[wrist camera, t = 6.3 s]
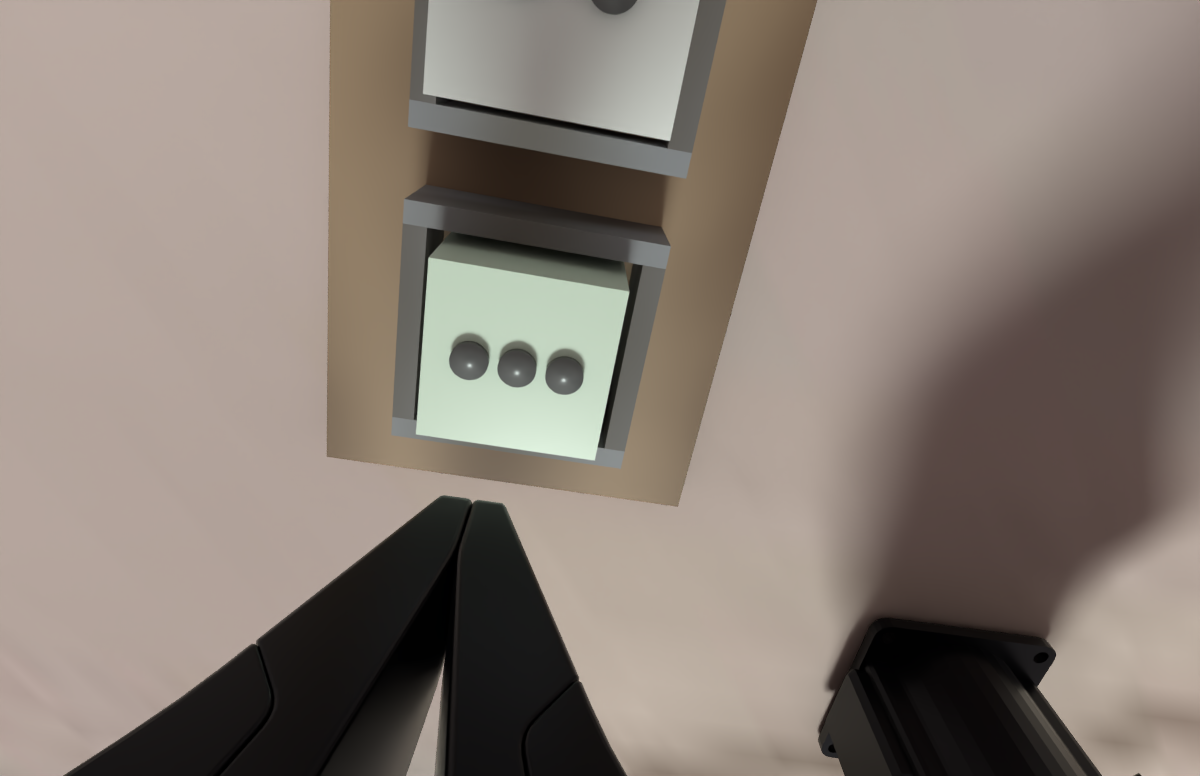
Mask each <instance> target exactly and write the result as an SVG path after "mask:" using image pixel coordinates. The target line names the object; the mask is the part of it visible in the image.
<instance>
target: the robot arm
mask: <svg viewBox="0 0 1200 776" xmlns="http://www.w3.org/2000/svg"><path fill="white" fill-rule="evenodd" d="M885 633H887V634H885ZM883 634H885V635H883ZM1055 657H1056V652H1055V650H1054V649H1053V648H1052V647H1051V645H1050V644H1049V643H1048V642H1047V641H1046V640H1045V639H1042V638H1037V637H1029V636H1022V635H1014V634H1006V633H999V632H991V631H983V630H976V629H968V628H961V627H953V626H945V625H938V624H930V623H922V622H915V621H907V620H900V619H892V618H882V619H879V620H877V621H875V622H874V623H872V625H871V626H870V628H869V630H868V632H867V634H866V636H865V638H864V640H863V643H862V645H861V647H860V649H859V651H858V653H857V655H856V658H855V660H854V662H853V664H852V666H851V668H850V671H849V672H848V674H847V675H846V677H845V679H844V681H843V683H842V685H841V688H840V690H839V692H838V694H837V696H836V698H835V701H834V703H833V705H832V707H831V709H830V711H829V713H828V716H827V718H826V720H825V724H824V726H823V729H822V731H821V733H820V735H819V738H818V742H819V745H820V748H821V751H822V753H823V754H824V755H825V756H828V757H833V758H839V761H840V764H841V767H842V769H843V772H844V775H845V776H1102V775H1101V774H1100V772H1099V771H1098V770H1097V768H1096V767H1095V765H1094V764H1093V763H1092V761H1091V760H1090V759H1089V757H1088V756H1087V755H1086V753H1085V752H1084V750H1083V749H1082V748H1081V746H1080V745H1079V744H1078V742H1077V741H1076V740H1075V738H1074V737H1073V735H1072V734H1071V733H1070V731H1069V730H1068V729H1067V727H1066V726H1065V725H1064V723H1063V722H1062V720H1061V719H1060V718H1059V716H1058V715H1057V714H1056V712H1055V711H1054V709H1053V708H1052V707H1051V705H1050V704H1049V703H1048V701H1047V700H1046V699H1045V697H1044V696H1043V694H1042V693H1041V692H1040V690H1039V689H1038V688H1037V686H1038V685H1039V683H1040V682H1041V680H1042V678H1043V677H1044V675H1045V674H1046V672H1047V671H1048V669H1049V667H1050V666H1051V664H1052V663H1053V661H1054V660H1055ZM444 659H445V661H444ZM443 663H444V670H443V680H442V689H441V701H440V714H439V726H438V739H437V751H436V763H435V776H627V775H626V773H625V771H624V769H623V768H622V766H621V764H620V762H619V761H618V759H617V757H616V755H615V753H614V752H613V750H612V748H611V746H610V744H609V742H608V740H607V738H606V736H605V734H604V731H603V729H602V727H601V725H600V723H599V721H598V719H597V717H596V715H595V713H594V710H593V708H592V706H591V704H590V701H589V699H588V697H587V694H586V692H585V690H584V687H583V685H582V683H581V682H579V676H578V674H577V672H576V670H575V667H574V665H573V663H572V660H571V658H570V656H569V653H568V651H567V649H566V646H565V644H564V642H563V639H562V637H561V635H560V632H559V630H558V628H557V625H556V623H555V621H554V618H553V616H552V614H551V611H550V609H549V607H548V604H547V602H546V600H545V597H544V595H543V593H542V590H541V588H540V586H539V584H538V581H537V579H536V577H535V574H534V572H533V570H532V567H531V565H530V563H529V560H528V558H527V556H526V553H525V551H524V549H523V546H522V544H521V542H520V539H519V537H518V535H517V532H516V530H515V528H514V525H513V523H512V521H511V518H510V516H509V514H508V511H507V509H506V507H505V506H504V505H503V504H502V503H496V502H489V501H481V500H477V501H474V503H473V504H472V502H471V500H469V499H467V498H460V497H452V496H440V497H439V498H437V499H436V500H435V501H433V502H432V503H431V504H430V505H428V506H427V507H426V508H425V509H423V510H422V511H421V512H419V513H418V514H417V515H416V516H414V517H413V518H412V519H410V520H409V521H408V522H407V523H405V524H404V525H403V526H402V527H400V528H399V529H398V530H396V531H395V532H394V533H393V534H391V535H390V536H389V537H388V538H386V539H385V540H384V541H382V542H381V543H380V544H379V545H377V546H376V547H375V548H373V549H372V550H371V551H370V552H368V553H367V554H366V555H365V556H363V557H362V558H361V559H359V560H358V561H357V562H356V563H354V564H353V565H352V566H351V567H349V568H348V569H347V570H345V571H344V572H343V573H342V574H340V575H339V576H338V577H337V578H335V579H334V580H333V581H331V582H330V583H329V584H328V585H326V586H325V587H324V588H322V589H321V590H320V591H319V592H317V593H316V594H315V595H314V596H312V597H311V598H310V599H308V600H307V601H306V602H305V603H303V604H302V605H301V606H300V607H298V608H297V609H296V610H294V611H293V612H292V613H291V614H289V615H288V616H287V617H286V618H284V619H283V620H282V621H280V622H279V623H278V624H277V625H275V626H274V627H273V628H271V629H270V630H269V631H268V632H266V633H265V634H264V635H263V636H261V637H260V638H259V639H258V640H257V641H256V645H255V644H251V645H249V646H248V647H247V648H246V649H244V650H243V651H242V652H240V653H239V654H238V655H237V656H235V657H234V658H233V659H231V660H230V661H229V662H228V663H226V664H225V665H224V666H222V667H221V668H220V669H218V670H217V671H216V672H214V673H213V674H212V675H210V676H209V677H208V678H206V679H205V680H204V681H202V682H201V683H200V684H198V685H197V686H196V687H194V688H193V689H192V690H190V691H189V692H188V693H186V694H185V695H184V696H182V697H181V698H179V699H178V700H177V701H175V702H174V703H172V704H171V705H169V706H168V707H166V708H165V709H163V710H162V711H160V712H159V713H157V714H156V715H154V716H153V717H152V718H150V719H149V720H147V721H146V722H144V723H143V724H141V725H140V726H138V727H137V728H135V729H134V730H132V731H131V732H129V733H128V734H126V735H125V736H123V737H122V738H120V739H119V740H117V741H116V742H114V743H113V744H111V745H110V746H108V747H107V748H105V749H104V750H102V751H100V752H99V753H97V754H96V755H94V756H93V757H91V758H90V759H88V760H87V761H85V762H84V763H82V764H80V765H79V766H77V767H76V768H74V769H73V770H71V771H70V772H68V773H67V774H65V775H64V776H406V774H407V771H408V768H409V765H410V762H411V759H412V757H413V754H414V751H415V748H416V745H417V742H418V739H419V736H420V733H421V731H422V728H423V725H424V722H425V719H426V716H427V713H428V710H429V707H430V704H431V702H432V699H433V696H434V693H435V690H436V687H437V684H438V681H439V677H440V674H441V671H442V667H443ZM1134 776H1141V775H1140V774H1139V773H1138V774H1136V775H1134Z"/></svg>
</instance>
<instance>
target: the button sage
mask: <svg viewBox="0 0 1200 776" xmlns="http://www.w3.org/2000/svg"><path fill="white" fill-rule="evenodd" d="M628 296H629V287H628V281H627V276H626V270H625V265H624V262H622V261H616V260H610V259H605V258H599V257H593V256H587V255H582V254H576V253H570V252H564V251H559V250H553V249H547V248H542V247H536V246H530V245H524V244H519V243H513V242H507V241H501V240H496V239H490V238H484V237H478V236H473V235H467V234H461V233H455V232H451V233H450V234H449V235H448V236H447V237H446V238H445V240H444V241H443V242H442V243H441V244H440V245H439V246H438V247H437V249H436V250H435V251H434V252H433V253H432V254H431V255H430V256H429V259H428V273H427V287H426V300H425V314H424V328H423V342H422V356H421V370H420V384H419V398H418V412H417V426H416V434H417V435H424V436H431V437H438V438H444V439H451V440H458V441H465V442H472V443H478V444H485V445H492V446H499V447H506V448H512V449H519V450H526V451H533V452H540V453H546V454H553V455H560V456H567V457H574V458H580V459H587V460H594V461H595V457H596V452H597V447H598V442H599V438H600V433H601V428H602V423H603V418H604V413H605V408H606V404H607V399H608V394H609V389H610V384H611V379H612V374H613V369H614V365H615V360H616V355H617V350H618V345H619V340H620V335H621V330H622V326H623V321H624V316H625V311H626V306H627V301H628Z"/></svg>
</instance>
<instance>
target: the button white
mask: <svg viewBox="0 0 1200 776" xmlns="http://www.w3.org/2000/svg"><path fill="white" fill-rule="evenodd" d="M699 1H700V0H429V3H428V19H427V35H426V52H425V68H424V84H423V94H427V95H432V96H437V97H443V98H448V99H453V100H458V101H463V102H469V103H474V104H479V105H484V106H490V107H495V108H500V109H505V110H510V111H516V112H521V113H526V114H531V115H537V116H542V117H547V118H552V119H557V120H563V121H568V122H573V123H578V124H583V125H589V126H594V127H599V128H604V129H610V130H615V131H620V132H625V133H630V134H636V135H641V136H646V137H651V138H656V139H662V140H667V141H670V138H671V134H672V129H673V124H674V119H675V115H676V110H677V105H678V101H679V96H680V91H681V86H682V82H683V77H684V72H685V67H686V63H687V58H688V53H689V48H690V44H691V39H692V34H693V29H694V25H695V20H696V15H697V10H698V6H699Z"/></svg>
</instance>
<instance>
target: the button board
mask: <svg viewBox="0 0 1200 776" xmlns="http://www.w3.org/2000/svg"><path fill="white" fill-rule="evenodd" d="M428 3H429V0H330V106H329V237H328V368H327V457H333V458H340V459H347V460H354V461H361V462H368V463H375V464H382V465H389V466H396V467H403V468H410V469H417V470H424V471H431V472H438V473H445V474H452V475H459V476H466V477H473V478H480V479H487V480H494V481H501V482H508V483H515V484H522V485H529V486H536V487H543V488H550V489H557V490H564V491H571V492H578V493H585V494H592V495H600V496H607V497H614V498H621V499H628V500H635V501H642V502H649V503H656V504H663V505H670V506H677V507H678V504H679V500H680V496H681V493H682V489H683V486H684V482H685V478H686V475H687V471H688V467H689V464H690V460H691V457H692V453H693V449H694V446H695V442H696V438H697V435H698V431H699V428H700V424H701V420H702V417H703V413H704V409H705V406H706V402H707V399H708V395H709V391H710V388H711V384H712V380H713V377H714V373H715V369H716V366H717V362H718V359H719V355H720V351H721V348H722V344H723V340H724V337H725V333H726V330H727V326H728V322H729V319H730V315H731V311H732V308H733V304H734V301H735V297H736V293H737V290H738V286H739V282H740V279H741V275H742V272H743V268H744V264H745V261H746V257H747V253H748V250H749V246H750V242H751V239H752V235H753V232H754V228H755V224H756V221H757V217H758V213H759V210H760V206H761V203H762V199H763V195H764V192H765V188H766V184H767V181H768V177H769V174H770V170H771V166H772V163H773V159H774V155H775V152H776V148H777V145H778V141H779V137H780V134H781V130H782V126H783V123H784V119H785V115H786V112H787V108H788V105H789V101H790V97H791V94H792V90H793V86H794V83H795V79H796V76H797V72H798V68H799V65H800V61H801V57H802V54H803V50H804V47H805V43H806V39H807V36H808V32H809V28H810V25H811V21H812V18H813V14H814V10H815V7H816V3H817V0H700V1H699V6H698V10H697V15H696V20H695V25H694V29H693V34H692V39H691V44H690V48H689V53H688V58H687V63H686V67H685V72H684V77H683V82H682V86H681V91H680V96H679V101H678V105H677V110H676V115H675V119H674V124H673V129H672V134H671V138H670V141H667V140H662V139H656V138H651V137H646V136H641V135H636V134H630V133H625V132H620V131H615V130H610V129H604V128H599V127H594V126H589V125H583V124H578V123H573V122H568V121H563V120H557V119H552V118H547V117H542V116H537V115H531V114H526V113H521V112H516V111H510V110H505V109H500V108H495V107H490V106H484V105H479V104H474V103H469V102H463V101H458V100H453V99H448V98H443V97H437V96H432V95H427V94H423V84H424V68H425V52H426V35H427V19H428ZM451 232H455V233H461V234H467V235H473V236H478V237H484V238H490V239H496V240H501V241H507V242H513V243H519V244H524V245H530V246H536V247H542V248H547V249H553V250H559V251H564V252H570V253H576V254H582V255H587V256H593V257H599V258H605V259H610V260H616V261H622V262H624V265H625V270H626V276H627V281H628V287H629V296H628V301H627V306H626V311H625V316H624V321H623V326H622V330H621V335H620V340H619V345H618V350H617V355H616V360H615V365H614V369H613V374H612V379H611V384H610V389H609V394H608V399H607V404H606V408H605V413H604V418H603V423H602V428H601V433H600V438H599V442H598V447H597V452H596V457H595V461H594V460H587V459H580V458H574V457H567V456H560V455H553V454H546V453H540V452H533V451H526V450H519V449H512V448H506V447H499V446H492V445H485V444H478V443H472V442H465V441H458V440H451V439H444V438H438V437H431V436H424V435H417V434H416V426H417V412H418V398H419V384H420V370H421V356H422V342H423V328H424V314H425V300H426V287H427V273H428V259H429V256H430V255H431V254H432V253H433V252H434V251H435V250H436V249H437V247H438V246H439V245H440V244H441V243H442V242H443V241H444V240H445V238H446V237H447V236H448V235H449V234H450V233H451Z"/></svg>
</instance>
